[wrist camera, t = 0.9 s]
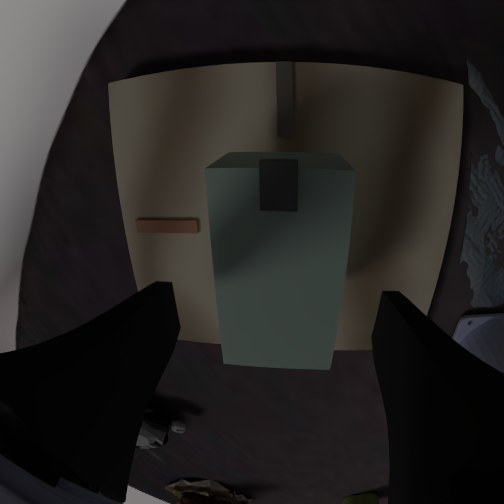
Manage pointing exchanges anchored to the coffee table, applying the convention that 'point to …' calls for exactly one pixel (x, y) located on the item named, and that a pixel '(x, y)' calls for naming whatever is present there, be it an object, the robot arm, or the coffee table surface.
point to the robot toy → (157, 429)
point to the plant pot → (361, 499)
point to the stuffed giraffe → (485, 211)
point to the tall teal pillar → (279, 254)
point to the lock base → (289, 140)
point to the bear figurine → (205, 493)
